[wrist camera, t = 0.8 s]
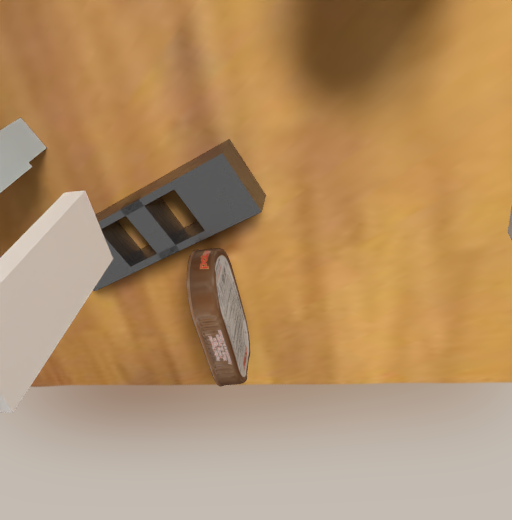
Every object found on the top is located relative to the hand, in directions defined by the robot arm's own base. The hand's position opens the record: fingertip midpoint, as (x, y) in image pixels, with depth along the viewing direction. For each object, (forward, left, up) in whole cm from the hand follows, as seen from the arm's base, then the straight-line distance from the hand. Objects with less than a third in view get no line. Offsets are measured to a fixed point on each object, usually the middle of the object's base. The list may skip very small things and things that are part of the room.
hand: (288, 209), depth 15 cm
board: (+6, -20, -25) cm, 32 cm away
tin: (+17, -19, -25) cm, 36 cm away
